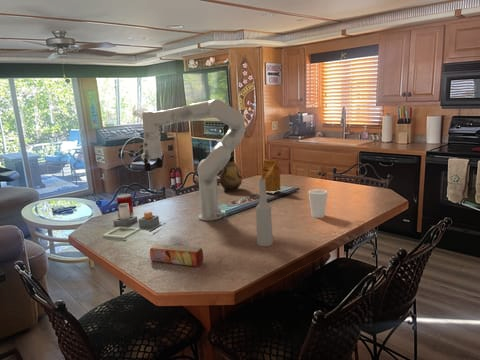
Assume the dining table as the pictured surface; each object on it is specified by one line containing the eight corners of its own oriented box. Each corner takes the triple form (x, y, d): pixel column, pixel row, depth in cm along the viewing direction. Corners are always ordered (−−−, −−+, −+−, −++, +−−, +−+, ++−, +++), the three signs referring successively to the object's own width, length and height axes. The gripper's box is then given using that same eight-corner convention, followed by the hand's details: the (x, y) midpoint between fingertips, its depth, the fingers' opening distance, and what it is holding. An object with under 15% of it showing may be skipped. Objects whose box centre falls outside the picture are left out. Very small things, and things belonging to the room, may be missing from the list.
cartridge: (132, 221, 188) (130, 203, 186) (126, 225, 183) (124, 206, 181) (124, 221, 190) (122, 202, 188) (118, 224, 185) (116, 205, 183)
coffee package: (269, 189, 248) (268, 157, 243) (282, 192, 239) (281, 159, 234) (258, 192, 242) (257, 159, 237) (272, 195, 232) (270, 161, 228)
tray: (140, 232, 176) (139, 228, 175) (124, 241, 165) (124, 236, 164) (120, 230, 180) (119, 226, 179) (103, 239, 169) (103, 234, 168)
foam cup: (329, 214, 189) (329, 189, 186) (325, 219, 180) (325, 194, 178) (311, 212, 193) (310, 189, 190) (306, 217, 184) (306, 193, 182)
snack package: (149, 263, 141) (147, 246, 140) (158, 256, 147) (156, 240, 146) (197, 269, 134) (195, 252, 132) (205, 261, 140) (203, 245, 138)
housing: (161, 225, 185) (160, 214, 184) (150, 231, 176) (149, 221, 175) (125, 222, 193) (124, 212, 192) (112, 228, 184) (111, 218, 183)
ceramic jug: (242, 192, 244) (240, 148, 238) (219, 193, 244) (217, 149, 238) (242, 186, 260) (240, 145, 254) (221, 187, 261) (218, 146, 255)
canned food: (135, 212, 211) (133, 193, 208) (127, 216, 203) (125, 197, 201) (125, 211, 213) (122, 193, 211) (116, 215, 206) (113, 197, 204)
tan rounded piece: (154, 219, 182) (153, 211, 181) (149, 221, 178) (149, 214, 178) (147, 218, 183) (147, 211, 183) (143, 221, 180) (142, 213, 179)
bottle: (261, 247, 150) (258, 182, 144) (254, 242, 156) (251, 179, 150) (275, 244, 152) (273, 179, 146) (268, 239, 158) (265, 177, 152)
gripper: (146, 137, 173) (149, 172, 176) (167, 134, 188) (169, 166, 192) (134, 137, 176) (136, 171, 179) (155, 134, 191) (157, 166, 195)
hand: (153, 169), depth 185 cm, fingers open, 9 cm apart
